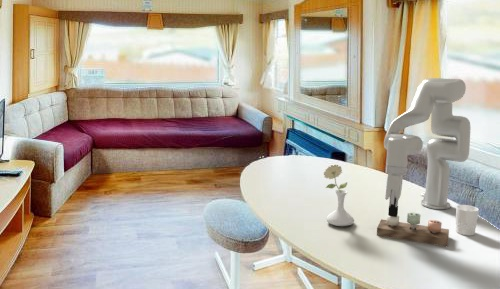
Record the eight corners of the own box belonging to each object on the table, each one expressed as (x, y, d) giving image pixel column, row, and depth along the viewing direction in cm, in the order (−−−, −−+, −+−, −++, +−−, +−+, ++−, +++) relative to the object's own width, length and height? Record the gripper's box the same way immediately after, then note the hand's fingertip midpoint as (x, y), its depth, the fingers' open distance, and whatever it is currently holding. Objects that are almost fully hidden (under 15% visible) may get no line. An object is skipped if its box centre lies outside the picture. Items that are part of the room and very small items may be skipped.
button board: (376, 235, 168) (377, 227, 167) (380, 226, 177) (381, 219, 176) (447, 246, 157) (448, 238, 157) (448, 236, 166) (448, 229, 166)
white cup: (464, 237, 166) (466, 212, 164) (449, 229, 173) (451, 205, 172) (481, 235, 168) (483, 210, 166) (466, 227, 176) (468, 204, 174)
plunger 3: (426, 239, 163) (427, 222, 162) (427, 234, 167) (428, 218, 166) (439, 241, 161) (441, 224, 160) (440, 237, 165) (441, 220, 164)
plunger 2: (405, 231, 166) (406, 214, 164) (407, 227, 170) (408, 211, 168) (418, 233, 164) (419, 216, 162) (419, 229, 168) (420, 212, 166)
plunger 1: (385, 232, 169) (386, 216, 168) (386, 228, 173) (387, 212, 172) (397, 234, 167) (398, 218, 166) (398, 230, 171) (400, 214, 170)
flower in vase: (352, 219, 185) (355, 161, 180) (355, 229, 174) (359, 168, 169) (321, 218, 186) (323, 160, 181) (322, 228, 175) (324, 167, 170)
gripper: (388, 164, 174) (385, 208, 177) (382, 172, 160) (379, 220, 164) (408, 166, 170) (405, 211, 174) (404, 175, 157) (400, 223, 160)
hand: (392, 215), depth 169 cm, fingers closed
